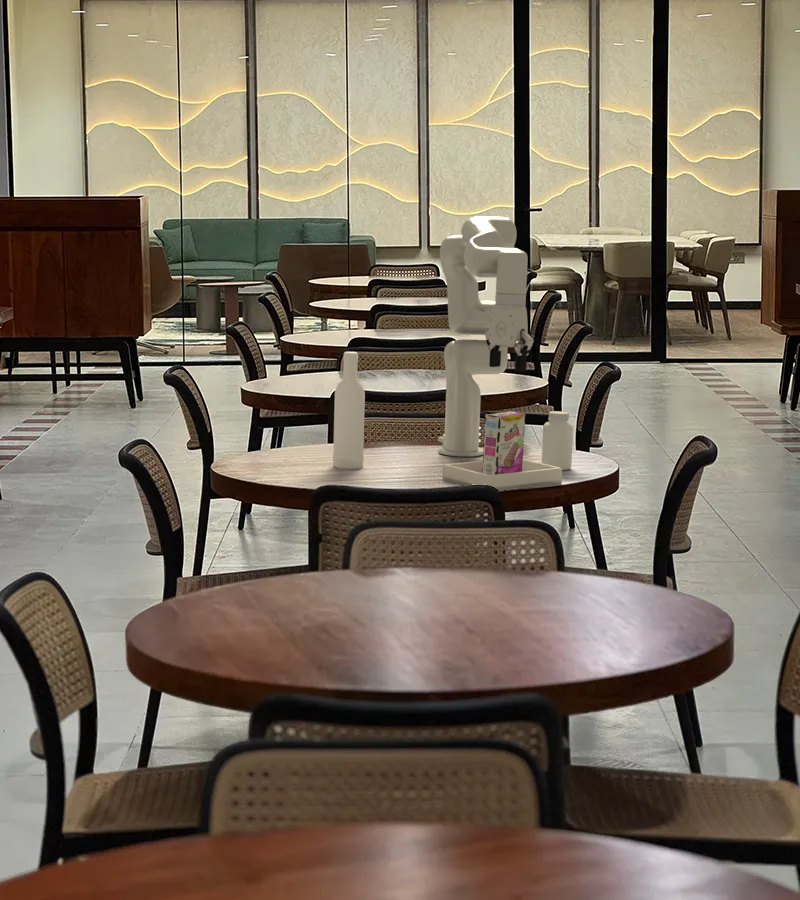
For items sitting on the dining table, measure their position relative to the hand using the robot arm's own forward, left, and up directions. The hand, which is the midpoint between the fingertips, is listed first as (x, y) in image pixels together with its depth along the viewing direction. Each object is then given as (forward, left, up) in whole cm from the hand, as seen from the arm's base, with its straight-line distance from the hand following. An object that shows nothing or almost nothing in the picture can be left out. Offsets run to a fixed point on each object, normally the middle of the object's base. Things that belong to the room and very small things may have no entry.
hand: (507, 368), depth 393 cm
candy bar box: (+1, -1, -28) cm, 28 cm away
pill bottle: (-7, +25, -29) cm, 39 cm away
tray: (+1, -1, -29) cm, 28 cm away
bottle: (-35, -23, -29) cm, 51 cm away
